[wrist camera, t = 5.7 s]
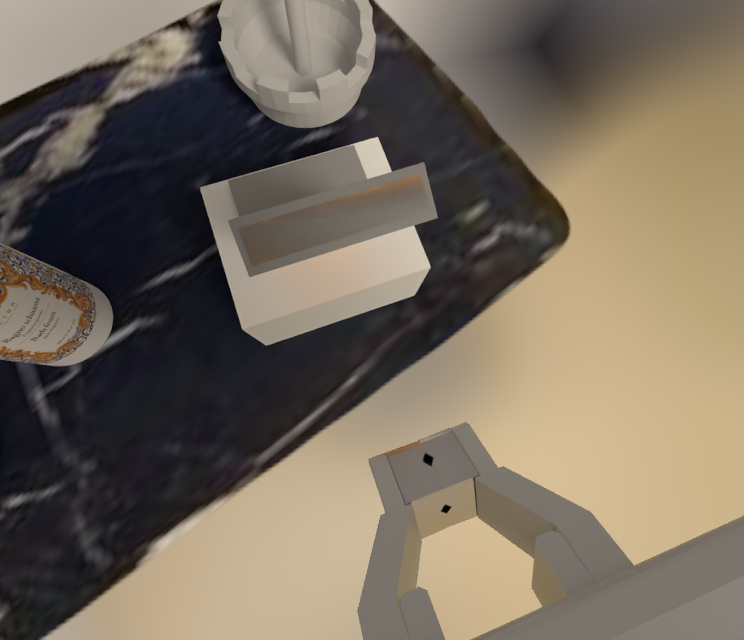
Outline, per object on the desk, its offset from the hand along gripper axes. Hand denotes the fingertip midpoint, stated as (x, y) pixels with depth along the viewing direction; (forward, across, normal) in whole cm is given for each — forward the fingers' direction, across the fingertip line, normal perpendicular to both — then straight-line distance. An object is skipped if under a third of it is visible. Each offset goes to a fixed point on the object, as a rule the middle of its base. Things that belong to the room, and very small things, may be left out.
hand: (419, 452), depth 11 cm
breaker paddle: (+19, 0, 0) cm, 19 cm away
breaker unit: (+24, 0, +4) cm, 24 cm away
